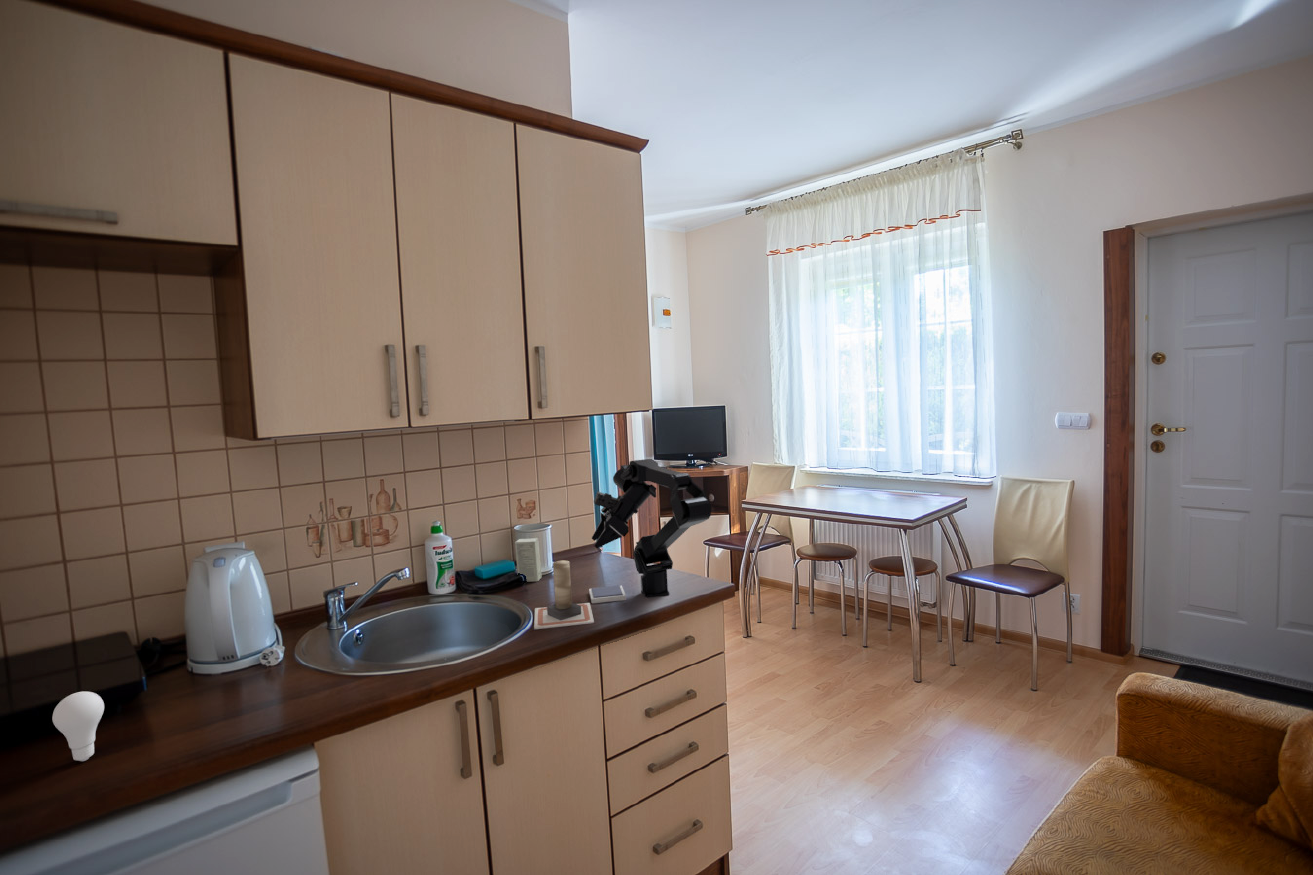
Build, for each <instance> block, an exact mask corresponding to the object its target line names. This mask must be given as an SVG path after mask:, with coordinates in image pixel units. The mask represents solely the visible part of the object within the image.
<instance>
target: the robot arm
mask: <svg viewBox="0 0 1313 875" xmlns="http://www.w3.org/2000/svg"><path fill="white" fill-rule="evenodd" d="M612 477H613V478H612V480H613V483H614V484H615V485H616V486H617V487H618V489H620V490H621V491H622V492H623V494H622V495H621V494H619V495H618V496H617V497H613V496H612V494H609V493H607V492H605V493H604V492H601V491H597V493H596V495H595V498H594V499H593V503H594V505H595V506H597V507H602V508H601V510H600V511H601V512H600V513H599V514H600V522H599V523H598V525H597V528H596V529H595V531H594V532H593V535H592V536H591V539H592V540H593V541H596V542H595V544H594V545H593V546H594V547H595V548H596V549H599V548H601V547H603V546H605V545H607V544H610V543H611V542H614V541H617V540H618V539H621V538H623V537H624V538H625V537H626V536H627V535H628V534H629V532H630V531H629V526H628V524H629V522H628V521H629V520H630V519H631V518H632V516H634V514H635V515H637V513H639V509H640V507H641V506H642V505H643V504H644V503H645V502H646V501H647V500H648V498H650V496H652V497H653V499H654V498H657V487H656V486H654V484H655V485H659V486H662V487H665V488H668V489H669V491H670V502H669V504H670V506H671V508H672V514H673V516H672V517H671V518H670V519H669V520H668V521H666V523H665V524H664V525H663V526H662V527H661V528H660V529H659V531H658V532H656V533H655V534H654V533H653V534H650V535H644V536H641V537H640V538H639V541H636V542H635V544H636V545H635V547H634V549H633V560H634V563H635V564H634V565H635V569H636V571H637V572H638V574H641V575H640V589H641V593H642V594H644V597H647V598H649V597H656V596H657V597H658V596H666V595H670V591H669V587H668V571H667V570H672V569H673V565H674V562H673V560H672V558H671V556H670V554H669V551H668V549H669V547H671V546H672V545H673V544H674V543H675V542H676V541H677V540H678V539H679V538H680V537H681V536H682V535H684V533H685V532H687V530H688V529H690V528H691V527H694V526H696V525H699V524H701V523H704V522H706V521H707V520H709V519H710V518H711V515H712V505H711V503H710V501H709V498H708V496H707V494H706V492H705V491H704V490H703V489H702V488H701V487H700V486H698V484H696V483H695V482H694V481H693V479H692V477H691V475H690V474H689V473H687V472H681V471H676V470H673V469H668V468H666V467H662V466H659V463H658V462H657V461H656V460H655V459H654V460H653V459H652V458H646V459H637V460H630V461H629V464H624V465H620V469H618V470H617V471H616V472H615V473H614V474H613V476H612ZM647 482H650V483H654V484H648V483H647ZM679 490H685V491H686V492H687V493H688V494H689V495H690V496H692V497H691V498H685V499H680V498H679V496H678V493H679Z"/></svg>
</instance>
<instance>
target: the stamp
mask: <svg viewBox="0 0 1313 875" xmlns="http://www.w3.org/2000/svg"><path fill="white" fill-rule="evenodd" d="M570 566H571V564H570V561H569V560H563V559H562V560H557V561H554V562H553V563H552V568H553V583H554V598H555V599H554V603H555V604H552V605H548V606H546V607H547V615H549V616H552V617H554V618H556V619H558V620H564V619H567V618H570V617H573V616H576V615H580V614H581V606H579V605H577V604H578V603H574V602H573V600H572V583H571V567H570Z"/></svg>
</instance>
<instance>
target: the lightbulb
mask: <svg viewBox="0 0 1313 875" xmlns="http://www.w3.org/2000/svg"><path fill="white" fill-rule="evenodd" d="M104 711H105V703H104V700H103V699H102V697H101V696H100V695H99V694H97V693H96V692H92V691H78V692H75V693H72V694H70V695H67V696H65V698H63V699H61V700H60V701H59V703H58V704H57V705H56V706H55V708H54V710H53V713H52V723H53V725H54V726H55V728H56V729H57V730H58V731H59V732H60V733H61V734H63V735H64V737H65V738H66V741H67V743H68V748H69V749H70V750H71V755H72V758H73V760H74V761H79V762H85V761H87V760H89V759H90V757H92V756H93V755H94V754H95V741H96V731H97V729H98V725H99V723H100V721H101V719H102V716H103V714H104Z"/></svg>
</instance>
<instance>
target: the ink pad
mask: <svg viewBox="0 0 1313 875" xmlns="http://www.w3.org/2000/svg"><path fill="white" fill-rule="evenodd" d="M588 590H589V592H588V593H589V597H590V601H591V602H590V603H591V604H599V603H608V602H621V601H626V600H627V596H626V595H627V594H626V592H625V590H624V588H623V585H612V586H611V585H609V586H602V587H592V588H589V589H588Z"/></svg>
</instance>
